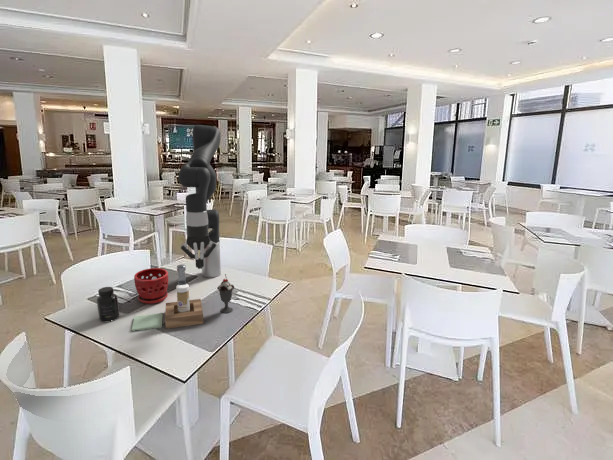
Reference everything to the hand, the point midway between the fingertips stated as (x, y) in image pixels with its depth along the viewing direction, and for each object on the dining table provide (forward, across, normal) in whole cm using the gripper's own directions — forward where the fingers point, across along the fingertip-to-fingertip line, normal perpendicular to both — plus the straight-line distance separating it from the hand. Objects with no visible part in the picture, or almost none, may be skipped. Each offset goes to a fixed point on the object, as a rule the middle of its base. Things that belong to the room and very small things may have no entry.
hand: (199, 268), depth 133 cm
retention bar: (+5, +7, -5) cm, 10 cm away
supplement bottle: (+21, +34, -10) cm, 41 cm away
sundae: (+21, -10, -4) cm, 23 cm away
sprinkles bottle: (+21, +7, -2) cm, 22 cm away
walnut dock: (+20, +7, -5) cm, 22 cm away
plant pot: (+21, +18, -22) cm, 35 cm away
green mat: (+20, +20, -2) cm, 28 cm away
